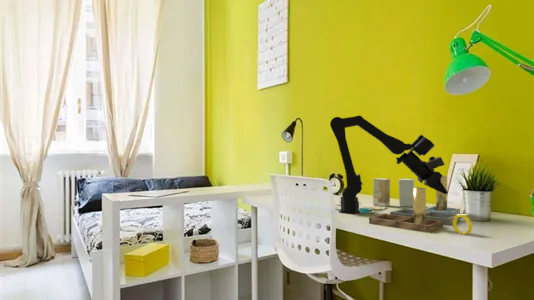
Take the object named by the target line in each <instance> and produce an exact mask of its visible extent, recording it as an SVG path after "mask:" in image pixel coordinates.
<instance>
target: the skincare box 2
mask: <svg viewBox="0 0 534 300" xmlns="http://www.w3.org/2000/svg"><path fill="white" fill-rule="evenodd" d="M413 188H415V179H414V178H399V179H398V193H399V194H398V197H399V199H398V200H399V201H398V202H399V207H408V208H410V207H411V208H413Z"/></svg>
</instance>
